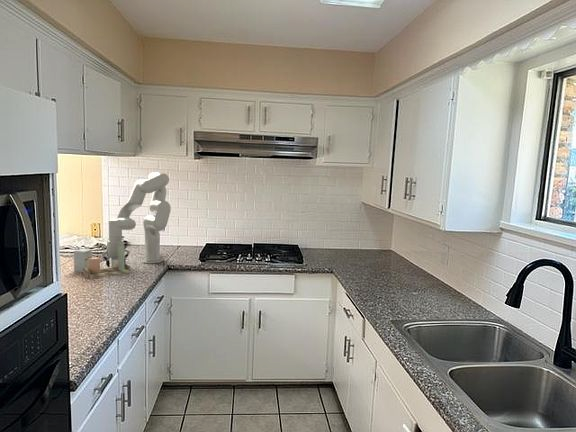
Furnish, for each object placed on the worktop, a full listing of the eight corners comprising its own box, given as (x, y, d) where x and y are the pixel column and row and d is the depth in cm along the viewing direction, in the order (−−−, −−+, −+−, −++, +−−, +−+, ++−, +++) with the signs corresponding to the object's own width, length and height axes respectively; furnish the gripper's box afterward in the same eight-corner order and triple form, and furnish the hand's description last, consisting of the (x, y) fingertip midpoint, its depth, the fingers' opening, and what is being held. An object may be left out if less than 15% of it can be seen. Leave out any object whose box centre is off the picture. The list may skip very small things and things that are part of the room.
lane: (124, 268, 255) (124, 262, 255) (130, 272, 247) (130, 265, 247) (83, 274, 240) (82, 267, 239) (87, 278, 232) (87, 271, 231)
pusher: (123, 268, 253) (123, 245, 252) (127, 271, 248) (127, 247, 246) (118, 269, 251) (117, 246, 250) (122, 272, 245) (122, 248, 244)
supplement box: (84, 272, 244) (84, 251, 242) (73, 271, 245) (73, 250, 244) (92, 269, 251) (92, 249, 249) (82, 268, 252) (81, 248, 251)
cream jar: (119, 266, 260) (119, 255, 259) (122, 268, 256) (121, 257, 255) (110, 267, 257) (109, 256, 256) (112, 269, 252) (112, 258, 252)
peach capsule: (98, 273, 243) (98, 256, 242) (101, 275, 239) (101, 258, 237) (86, 274, 239) (86, 257, 238) (89, 277, 234) (89, 260, 233)
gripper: (127, 236, 262) (128, 262, 265) (99, 238, 251) (99, 266, 254) (131, 238, 257) (132, 265, 259) (102, 240, 246) (103, 268, 248)
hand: (116, 265), depth 256 cm, fingers open, 8 cm apart
